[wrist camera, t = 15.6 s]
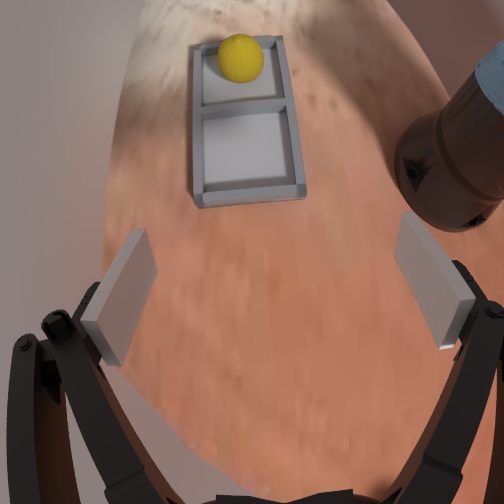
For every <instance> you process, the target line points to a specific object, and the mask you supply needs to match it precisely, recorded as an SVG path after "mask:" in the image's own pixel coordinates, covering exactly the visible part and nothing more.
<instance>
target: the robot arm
mask: <svg viewBox="0 0 504 504" xmlns="http://www.w3.org/2000/svg"><path fill="white" fill-rule="evenodd" d="M395 172H396V177H397V180H398V184H399V186H400V189H401V191H402V193H403V195H404V197H405V199H406V200H407V202H408V204H409V205H410V206H411V208H412V209H413V210H414V211H415V212H416V213H417V214H418V216H420V217H421V218H422V219H423V220H424V221H425V222H427V223H428V224H430V225H431V226H433V227H435V228H437V229H440V230H443V231H446V232H455V233H456V232H463V231H467V230H470V229H472V228H475V227H477V226H479V225H481V224H482V223H484V222H485V221H486V220H487V219H488V218H489V217H490V215H491V214H492V213H493V212H494V210H495V209H496V208H497V207H498V205H499V204H500V203H501V201H502V200H503V199H504V40H502V41H501V42H500V43H498V44H497V45H496V46H495V47H494V48H493V49H492V51H491V52H490V53H489V54H488V55H487V56H485V57H483V58H482V59H480V60H479V62H478V63H477V66H476V68H475V70H474V72H473V73H472V74H471V76H470V77H469V78H468V79H467V80H466V82H465V83H464V84H463V85H462V87H461V88H460V89H459V90H458V92H457V93H456V94H455V95H454V97H453V98H452V99H451V100H450V101H449V102H448V104H447V105H446V106H445V107H444V108H443V109H442V110H439V111H437V112H434V113H431V114H429V115H426V116H423V117H421V118H419V119H417V120H416V121H415V122H413V123H412V124H411V125H410V126H409V127H408V128H407V130H406V131H405V132H404V134H403V135H402V136H401V138H400V140H399V142H398V144H397V148H396V152H395ZM415 212H405V213H402V214H401V221H400V227H399V234H398V240H397V246H396V251H395V259H396V261H397V263H398V265H399V267H400V269H401V270H402V272H403V274H404V276H405V278H406V280H407V282H408V284H409V286H410V288H411V290H412V292H413V294H414V296H415V298H416V300H417V302H418V304H419V307H420V309H421V311H422V313H423V315H424V317H425V319H426V322H427V324H428V326H429V328H430V330H431V333H432V335H433V337H434V340H435V342H436V344H437V346H438V349H439V350H440V349H446V348H451V347H454V345H455V343H456V341H457V339H458V337H459V339H460V341H461V343H462V345H461V347H460V349H459V351H458V352H457V354H456V356H455V358H454V360H453V361H455V362H454V365H453V367H452V370H451V372H450V375H449V377H448V380H447V382H446V384H445V387H444V389H443V391H442V394H441V396H440V398H439V400H438V403H437V405H436V407H435V409H434V411H433V413H432V415H431V417H430V419H429V421H428V423H427V425H426V427H425V429H424V431H423V433H422V435H421V437H420V439H419V441H418V443H417V445H416V446H415V448H414V450H413V452H412V453H411V455H410V457H409V459H408V460H407V462H406V464H405V466H404V467H403V469H402V470H401V472H400V474H399V475H398V477H397V478H396V480H395V481H394V483H393V484H392V485H391V487H390V488H389V489H388V490H387V492H386V493H385V494H384V496H383V497H382V498H381V500H380V501H377V500H375V499H373V498H370V497H366V496H362V495H356V494H353V489H348V490H340V491H332V492H323V493H318V494H315V495H312V496H308V497H305V498H302V499H299V500H295V501H292V502H288V503H280V502H275V501H270V500H265V499H260V498H256V497H252V496H232V495H216V500H214V501H209V502H206V503H203V504H451V503H452V501H453V499H454V497H455V495H456V493H457V491H458V489H459V487H460V484H461V482H462V479H463V475H462V473H461V470H462V467H463V465H464V463H465V460H466V458H467V456H468V453H469V451H470V448H471V446H472V443H473V441H474V438H475V436H476V433H477V430H478V427H479V425H480V422H481V419H482V416H483V413H484V410H485V407H486V404H487V400H488V397H489V394H490V390H491V387H492V383H493V379H494V376H495V372H496V368H497V401H496V419H495V431H494V441H493V450H492V457H491V464H490V471H489V476H488V482H487V487H486V492H485V497H484V501H483V504H504V308H503V307H502V306H501V305H500V304H498V303H497V302H494V301H488V299H487V298H486V296H485V294H484V293H483V291H482V290H481V288H480V287H479V285H478V284H477V283H476V281H474V278H473V277H472V275H470V272H469V271H468V270H467V268H466V267H465V266H464V265H463V264H461V263H460V262H459V261H458V260H450V258H449V257H448V256H447V254H446V253H445V251H444V250H443V249H442V247H441V246H440V245H439V243H438V242H437V241H436V239H435V238H434V237H433V235H432V234H431V233H430V231H429V230H428V229H427V227H426V226H425V225H424V223H423V222H422V221H421V220H420V218H419V217H418V216H417V215H416V213H415ZM157 273H158V268H157V265H156V262H155V259H154V255H153V252H152V249H151V245H150V242H149V239H148V235H147V232H146V228H144V229H133V230H132V231H131V233H130V234H129V236H128V238H127V239H126V241H125V242H124V244H123V246H122V247H121V249H120V250H119V252H118V254H117V255H116V257H115V259H114V260H113V262H112V264H111V265H110V267H109V269H108V271H107V272H106V274H105V276H104V277H103V279H102V281H101V282H95V283H94V284H93V285H92V286H91V287H90V288H89V289H88V290H87V292H86V293H85V295H84V298H83V299H82V300H81V302H80V305H79V306H78V307H77V309H76V311H75V313H74V315H73V317H72V318H70V316H69V314H68V313H67V312H66V311H65V310H56V311H53V312H51V313H50V314H48V315H47V316H46V317H45V318H44V319H43V322H42V324H41V328H42V330H43V331H44V333H45V334H46V336H47V338H48V339H46V340H41V341H38V339H37V338H36V336H35V335H34V334H25V335H23V336H21V337H20V338H19V339H18V340H17V342H16V343H15V345H14V348H13V354H12V361H11V370H10V379H9V391H8V405H7V471H8V485H9V495H10V504H81V502H80V498H79V493H78V489H77V483H76V478H75V472H74V467H73V460H72V455H71V448H70V439H69V432H68V422H67V412H66V398H65V392H66V395H67V397H68V400H69V403H70V406H71V409H72V411H73V414H74V416H75V419H76V422H77V424H78V427H79V429H80V431H81V434H82V436H83V438H84V441H85V443H86V446H87V448H88V450H89V452H90V454H91V457H92V459H93V461H94V463H95V465H96V467H97V469H98V471H99V473H100V475H101V477H102V479H103V481H104V483H105V486H106V489H105V491H104V493H105V497H106V499H107V501H108V503H109V504H185V503H184V502H183V500H182V499H181V498H180V497H179V496H178V495H177V494H176V493H175V492H174V490H173V489H172V488H171V486H170V485H169V483H168V482H167V481H166V479H165V478H164V476H163V475H162V473H161V472H160V470H159V469H158V467H157V466H156V465H155V463H154V461H153V460H152V458H151V457H150V455H149V454H148V452H147V450H146V449H145V447H144V446H143V444H142V442H141V441H140V439H139V437H138V436H137V434H136V432H135V431H134V429H133V427H132V425H131V424H130V422H129V420H128V418H127V416H126V415H125V413H124V411H123V409H122V408H121V406H120V404H119V402H118V400H117V398H116V396H115V394H114V392H113V390H112V388H111V386H110V384H109V382H108V380H107V378H106V376H105V374H104V372H103V370H102V368H101V366H100V365H99V362H100V360H101V357H102V358H103V360H104V361H105V363H106V364H107V365H110V366H123V363H124V360H125V357H126V354H127V351H128V349H129V346H130V343H131V340H132V338H133V335H134V332H135V329H136V327H137V324H138V321H139V319H140V316H141V313H142V311H143V308H144V306H145V303H146V300H147V298H148V295H149V293H150V290H151V288H152V285H153V283H154V280H155V278H156V275H157Z"/></svg>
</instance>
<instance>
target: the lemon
mask: <svg viewBox="0 0 504 504" xmlns="http://www.w3.org/2000/svg"><path fill="white" fill-rule="evenodd" d="M217 60H218V66H219V69H220V71H221V73H222V74H223V75H224V76H225V77H226V78H227V79H228V80H230V81H232V82H234V83H240V84H242V83H248V82H251V81H253V80H255V79H256V78H257V77H258V76H259V75H260V73H261V72H262V69H263V67H264V53H263V51H262V48H261V46H260V44H259V43H258V42H257V41H256V40H255V39H254V38H252V37H251V36H248V35H244V34H237V35H232V36H230V37H228V38H226V39H225V40H224V41H223V42H222V44H221V45H220V47H219V50H218V54H217Z"/></svg>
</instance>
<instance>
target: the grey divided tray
mask: <svg viewBox="0 0 504 504" xmlns="http://www.w3.org/2000/svg"><path fill="white" fill-rule="evenodd" d="M254 39H255V40H256V41H257V42H258V43H259V44H260V46H261V48H262V51H263V53H264V67H263V69H262V72H261V73H260V75H259V76H258V77H257V78H256V79H255V80H253V81H251V82H248V83H242V84H240V83H234V82H232V81H230V80H228V79H227V78H226V77H225V76H224V75H223V74H222V73H221V71H220V69H219V66H218V60H217V54H218V50H219V47H220V45H221V44H222V42H223V41H219V42H212V43H206V44H200V45H194V61H193V193H194V204H195V205H196V206H197V207H198V208H199V209H201V208H210V207H220V206H230V205H241V204H252V203H263V202H275V201H287V200H301V199H305V198H306V195H307V188H306V180H305V172H304V164H303V157H302V150H301V143H300V136H299V129H298V122H297V116H296V109H295V103H294V97H293V91H292V85H291V79H290V73H289V68H288V62H287V57H286V51H285V46H284V41H283V36H266V37H254Z"/></svg>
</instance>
